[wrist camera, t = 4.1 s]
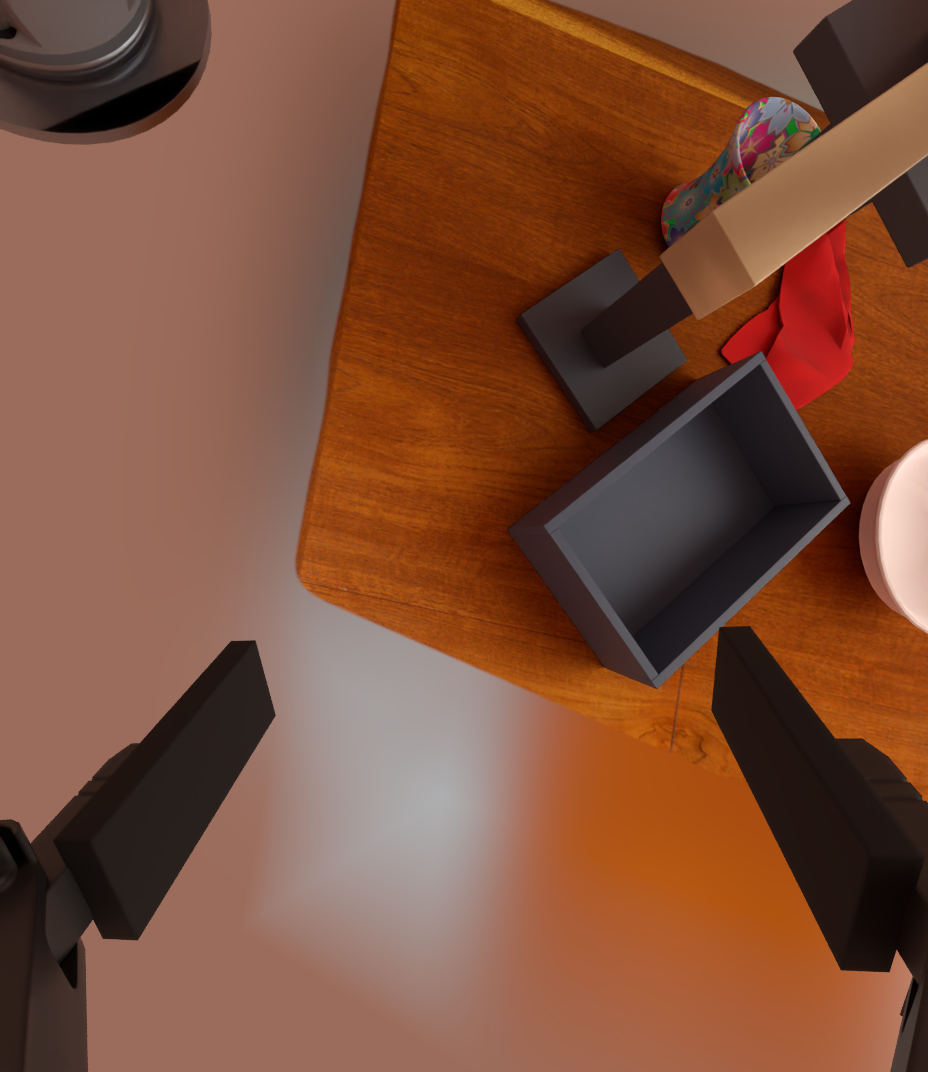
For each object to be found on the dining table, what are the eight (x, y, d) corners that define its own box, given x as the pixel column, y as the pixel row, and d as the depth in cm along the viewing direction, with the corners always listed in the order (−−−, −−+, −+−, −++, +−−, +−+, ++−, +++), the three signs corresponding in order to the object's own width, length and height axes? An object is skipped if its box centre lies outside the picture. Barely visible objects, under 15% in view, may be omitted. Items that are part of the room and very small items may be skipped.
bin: (506, 529, 46) (543, 525, 39) (697, 379, 52) (761, 350, 45) (604, 667, 49) (657, 689, 41) (776, 509, 54) (850, 502, 47)
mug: (679, 164, 52) (768, 70, 42) (746, 227, 54) (847, 152, 44) (622, 259, 50) (701, 185, 40) (694, 320, 52) (787, 264, 42)
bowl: (919, 420, 60) (989, 406, 54) (974, 582, 62) (1047, 585, 55) (790, 488, 55) (850, 480, 49) (854, 661, 57) (920, 675, 50)
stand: (515, 319, 47) (795, 0, 20) (612, 254, 50) (976, -106, 22) (590, 433, 49) (943, 284, 21) (679, 364, 52) (1094, 154, 24)
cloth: (787, 468, 55) (807, 464, 53) (694, 379, 52) (711, 372, 50) (896, 285, 59) (919, 275, 57) (817, 195, 57) (837, 181, 54)
